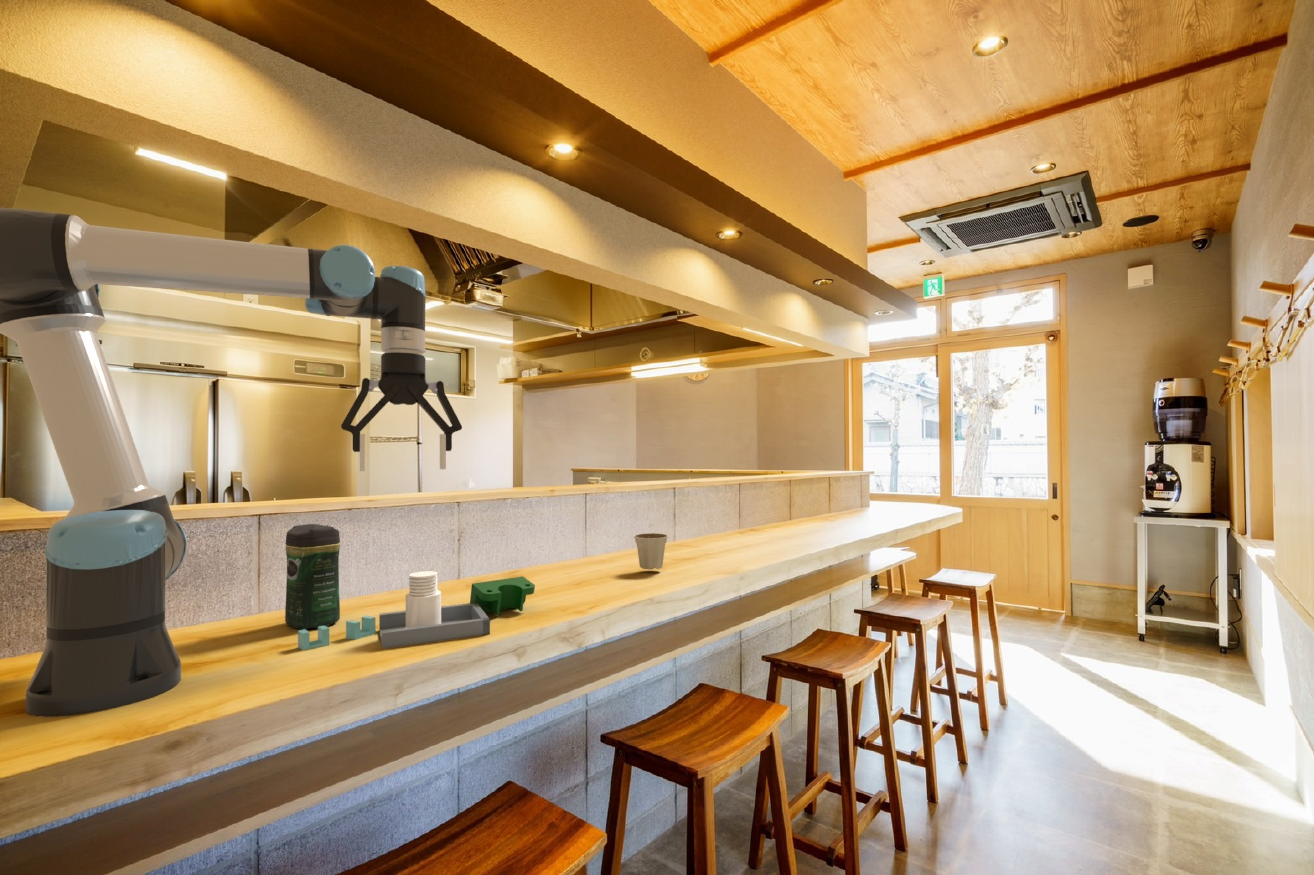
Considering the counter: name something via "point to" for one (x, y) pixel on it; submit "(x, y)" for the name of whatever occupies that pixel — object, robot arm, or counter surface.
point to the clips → (351, 633)
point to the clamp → (501, 594)
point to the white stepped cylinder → (423, 600)
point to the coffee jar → (312, 576)
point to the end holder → (434, 626)
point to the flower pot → (651, 549)
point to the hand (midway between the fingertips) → (403, 470)
